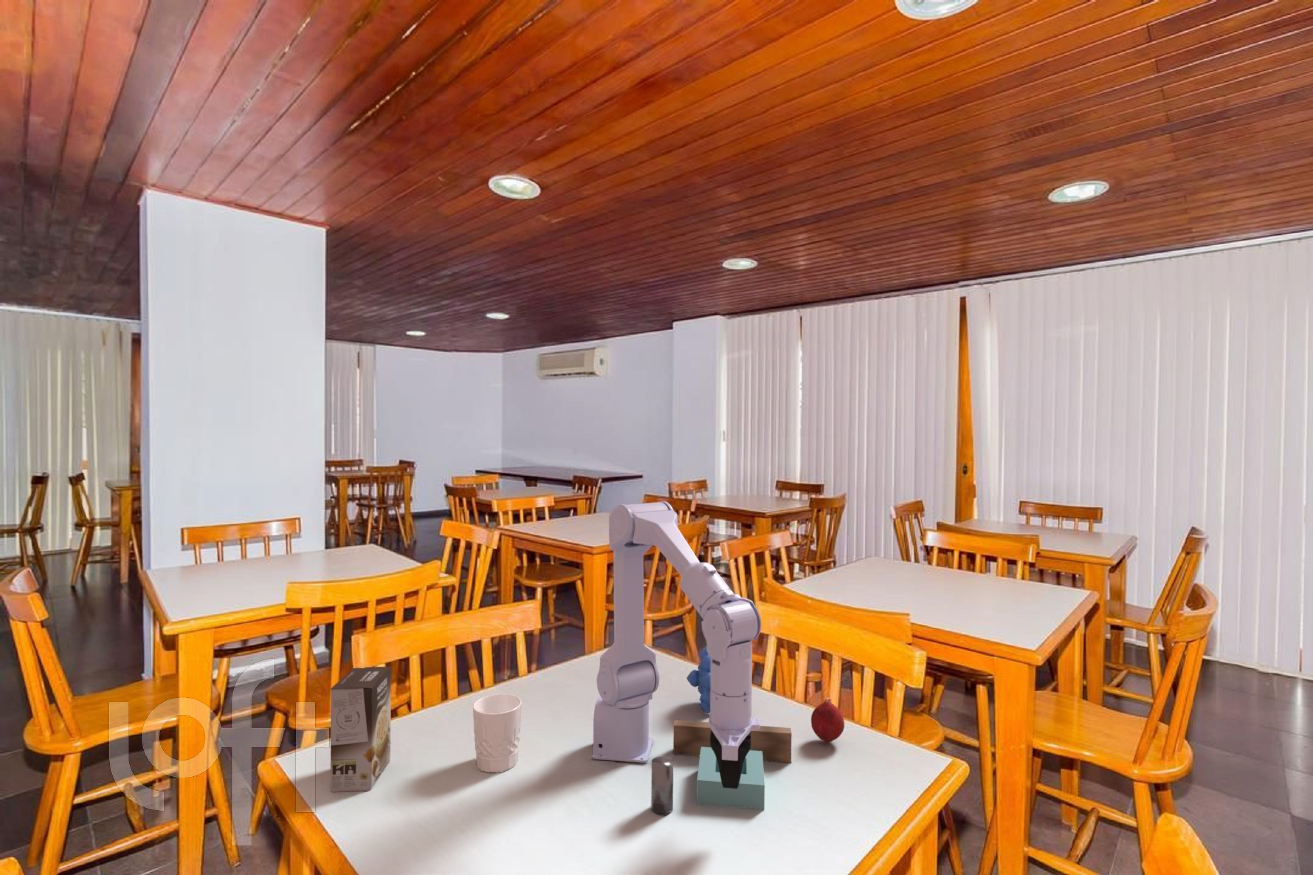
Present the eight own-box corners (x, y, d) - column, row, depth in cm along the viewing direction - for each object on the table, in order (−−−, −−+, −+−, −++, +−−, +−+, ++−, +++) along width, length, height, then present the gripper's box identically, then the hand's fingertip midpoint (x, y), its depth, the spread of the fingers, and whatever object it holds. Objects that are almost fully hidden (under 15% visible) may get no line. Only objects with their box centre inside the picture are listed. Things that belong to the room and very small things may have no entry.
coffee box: (372, 791, 98) (372, 687, 98) (329, 792, 98) (329, 688, 97) (391, 760, 107) (391, 665, 107) (352, 761, 107) (352, 666, 106)
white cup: (530, 762, 107) (530, 703, 107) (489, 780, 101) (489, 718, 101) (504, 745, 112) (504, 689, 112) (463, 762, 107) (463, 703, 106)
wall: (673, 753, 110) (673, 725, 110) (674, 748, 112) (674, 719, 112) (791, 762, 107) (791, 733, 107) (790, 756, 109) (790, 727, 109)
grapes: (685, 695, 134) (686, 638, 134) (718, 695, 134) (718, 639, 134) (686, 720, 123) (686, 658, 122) (721, 721, 122) (722, 659, 122)
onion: (845, 752, 111) (846, 706, 111) (811, 748, 112) (812, 703, 112) (842, 736, 117) (843, 693, 116) (810, 733, 118) (810, 690, 118)
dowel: (649, 814, 93) (650, 766, 93) (652, 801, 96) (653, 755, 96) (671, 816, 92) (672, 768, 92) (673, 803, 95) (674, 757, 95)
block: (696, 806, 95) (697, 779, 95) (700, 770, 105) (701, 746, 105) (764, 811, 94) (764, 785, 94) (761, 775, 104) (762, 751, 104)
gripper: (761, 713, 81) (761, 819, 81) (758, 670, 95) (757, 760, 95) (706, 709, 82) (705, 814, 82) (711, 667, 96) (710, 757, 96)
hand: (730, 785), depth 89 cm, fingers closed
